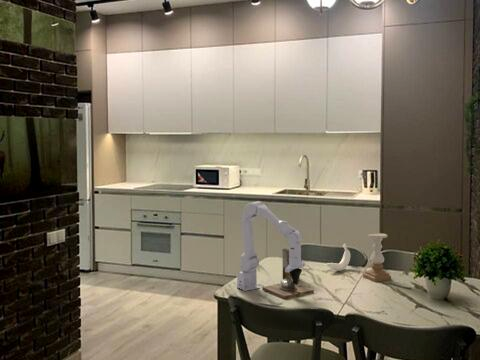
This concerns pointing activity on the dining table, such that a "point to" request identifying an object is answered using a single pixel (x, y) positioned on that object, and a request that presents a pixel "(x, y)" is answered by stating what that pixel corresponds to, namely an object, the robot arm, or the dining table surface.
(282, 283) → the steel cap
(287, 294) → the post base
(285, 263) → the coffee box
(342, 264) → the banana
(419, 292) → the dining table surface
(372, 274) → the candle holder
